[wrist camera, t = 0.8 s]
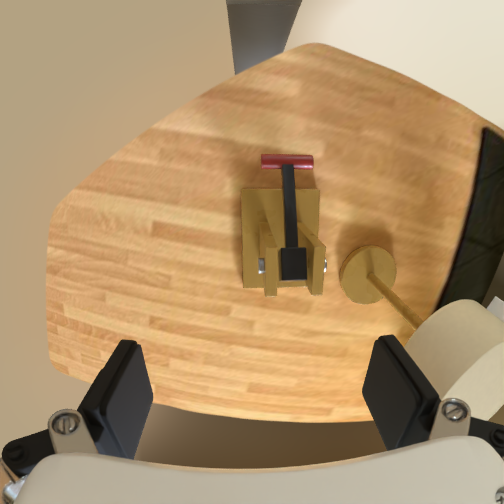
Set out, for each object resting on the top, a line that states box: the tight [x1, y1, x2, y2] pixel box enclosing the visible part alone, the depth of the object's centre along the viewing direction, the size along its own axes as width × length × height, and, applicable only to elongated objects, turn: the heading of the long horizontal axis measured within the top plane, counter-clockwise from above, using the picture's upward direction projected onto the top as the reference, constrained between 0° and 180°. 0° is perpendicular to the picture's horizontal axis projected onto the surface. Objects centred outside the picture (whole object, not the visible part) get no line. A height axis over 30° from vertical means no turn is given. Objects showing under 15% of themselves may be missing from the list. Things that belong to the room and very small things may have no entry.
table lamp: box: [340, 245, 504, 421], centre depth 25 cm, size 10×10×25 cm
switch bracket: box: [241, 188, 327, 297], centre depth 30 cm, size 12×9×12 cm
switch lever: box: [261, 154, 314, 282], centre depth 27 cm, size 12×5×2 cm, turn 0°
